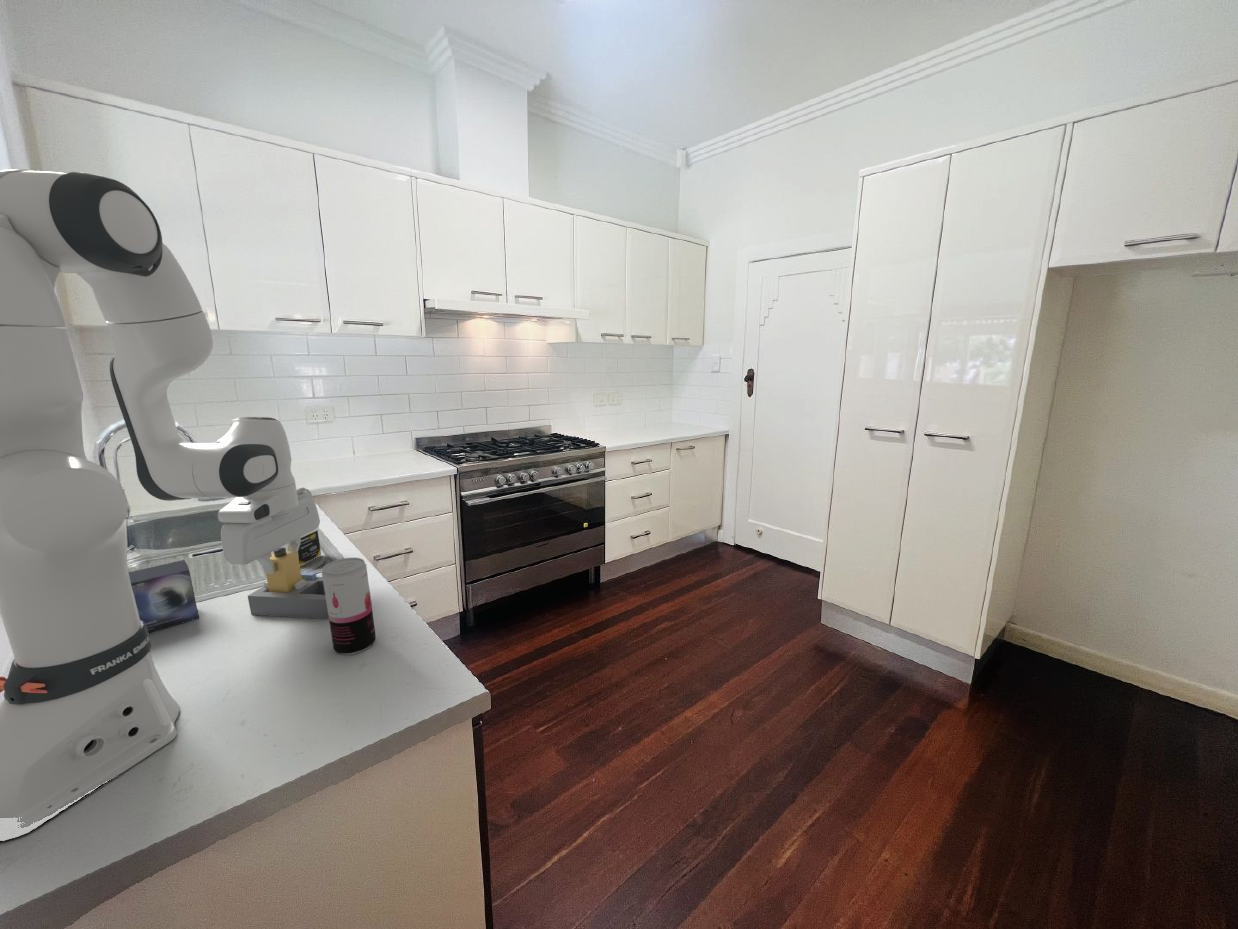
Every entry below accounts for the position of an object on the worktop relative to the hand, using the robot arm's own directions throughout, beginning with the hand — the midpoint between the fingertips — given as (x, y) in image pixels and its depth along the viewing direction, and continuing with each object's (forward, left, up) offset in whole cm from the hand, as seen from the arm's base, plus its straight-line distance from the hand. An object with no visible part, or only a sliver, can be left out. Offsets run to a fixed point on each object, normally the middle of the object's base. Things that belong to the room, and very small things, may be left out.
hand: (282, 566), depth 99 cm
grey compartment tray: (0, -4, -8) cm, 9 cm away
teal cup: (+66, +82, -8) cm, 105 cm away
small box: (-9, +19, -8) cm, 22 cm away
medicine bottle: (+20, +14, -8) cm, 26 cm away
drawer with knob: (0, 0, -7) cm, 7 cm away
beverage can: (-12, -22, -8) cm, 27 cm away
